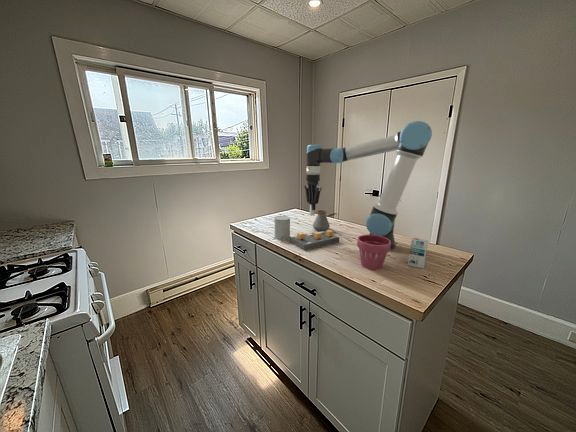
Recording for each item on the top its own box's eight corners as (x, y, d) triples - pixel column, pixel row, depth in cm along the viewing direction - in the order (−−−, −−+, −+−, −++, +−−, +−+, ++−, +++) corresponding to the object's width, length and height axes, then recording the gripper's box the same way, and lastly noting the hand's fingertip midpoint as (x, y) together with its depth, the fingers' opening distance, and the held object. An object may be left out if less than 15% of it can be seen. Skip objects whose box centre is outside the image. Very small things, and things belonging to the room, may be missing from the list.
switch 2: (321, 238, 134) (321, 233, 133) (316, 239, 132) (317, 234, 132) (317, 236, 136) (317, 231, 136) (313, 237, 135) (313, 232, 134)
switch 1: (304, 238, 133) (304, 233, 132) (300, 239, 132) (300, 234, 131) (301, 236, 136) (301, 232, 135) (297, 237, 134) (297, 232, 133)
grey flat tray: (339, 242, 138) (339, 236, 137) (304, 250, 125) (304, 244, 124) (323, 235, 149) (323, 230, 148) (290, 242, 137) (290, 237, 136)
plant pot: (348, 262, 111) (350, 237, 108) (369, 256, 118) (372, 232, 115) (372, 275, 99) (376, 247, 96) (394, 268, 106) (398, 241, 103)
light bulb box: (423, 269, 106) (427, 246, 103) (407, 265, 109) (410, 243, 107) (425, 260, 115) (428, 239, 112) (409, 257, 118) (412, 237, 115)
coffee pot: (309, 228, 163) (310, 207, 159) (323, 226, 168) (324, 205, 164) (327, 238, 144) (328, 214, 141) (342, 235, 149) (344, 212, 146)
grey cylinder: (271, 238, 142) (271, 218, 139) (278, 233, 151) (278, 215, 148) (286, 240, 139) (286, 220, 136) (292, 235, 148) (292, 216, 145)
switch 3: (332, 235, 138) (333, 231, 137) (328, 236, 137) (329, 231, 136) (329, 234, 141) (329, 229, 140) (325, 235, 139) (325, 230, 138)
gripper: (300, 173, 134) (300, 213, 140) (314, 174, 123) (313, 218, 129) (311, 173, 138) (310, 212, 144) (326, 174, 127) (324, 216, 133)
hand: (312, 215), depth 136 cm, fingers closed
